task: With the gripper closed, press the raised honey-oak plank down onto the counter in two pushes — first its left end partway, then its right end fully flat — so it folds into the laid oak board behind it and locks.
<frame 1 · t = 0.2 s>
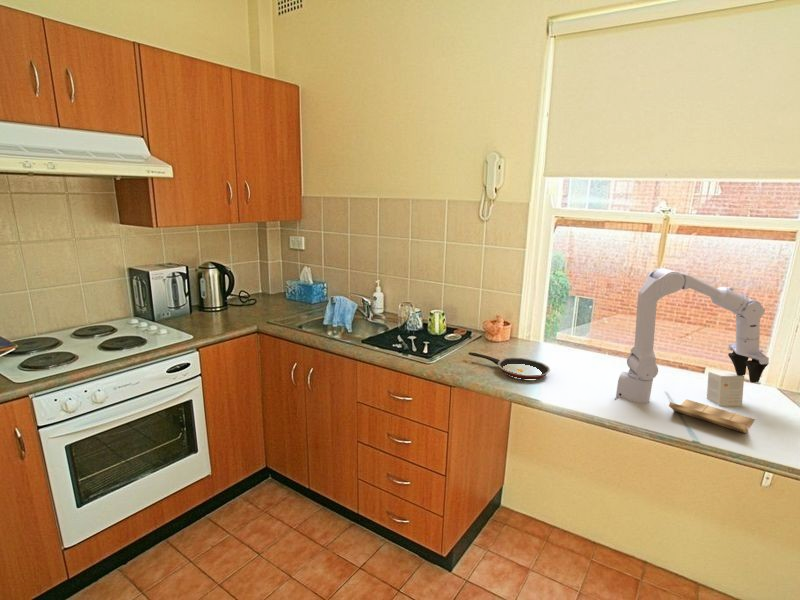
hand: (747, 378, 139), 11 cm above the worktop, tool pointing down, fingers open, 5 cm apart
laid board: (714, 417, 136), on the worktop
frying pan: (506, 370, 171), on the worktop
plank: (707, 417, 129), point 3 cm above the worktop, hinge at 28.0°
small box: (723, 405, 145), on the worktop, touching gripper
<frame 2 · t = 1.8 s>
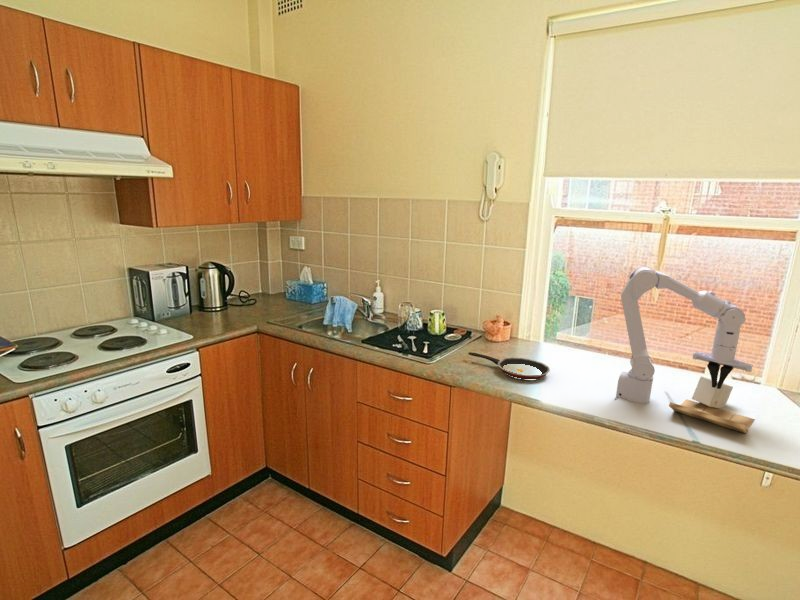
hand: (716, 387, 135), 9 cm above the worktop, tool pointing down, fingers closed, pressing on small box
small box: (719, 394, 144), point 4 cm above the worktop, touching gripper
everything else where it was.
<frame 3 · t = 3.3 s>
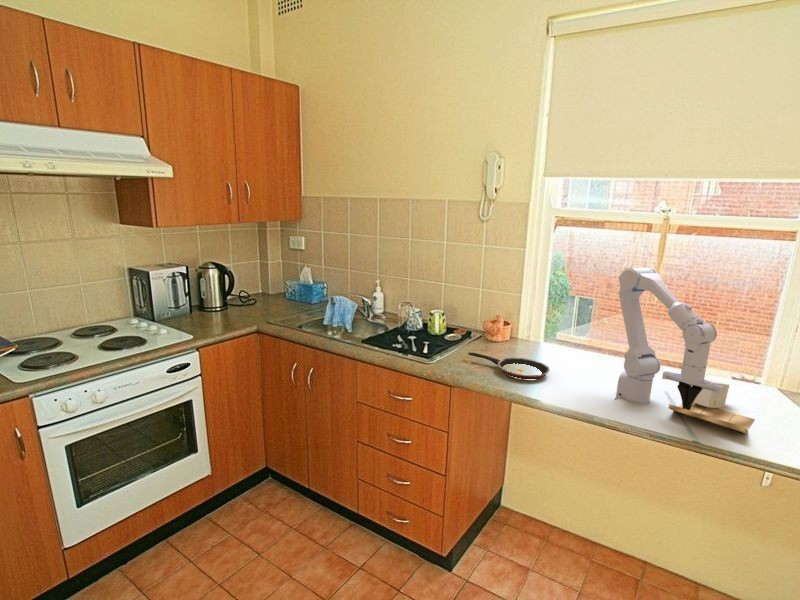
hand: (686, 408, 130), 5 cm above the worktop, tool pointing down, fingers closed, pressing on plank
plank: (707, 419, 129), point 3 cm above the worktop, hinge at 24.3°, touching gripper
small box: (717, 394, 144), point 4 cm above the worktop, touching laid board
everything else where it was.
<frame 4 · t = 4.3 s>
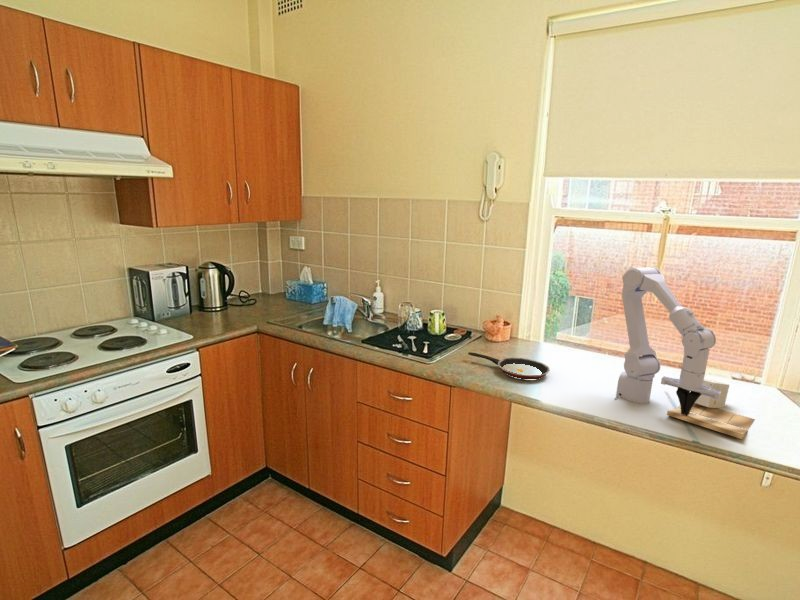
hand: (685, 413, 130), 3 cm above the worktop, tool pointing down, fingers closed
plank: (706, 422, 129), point 2 cm above the worktop, hinge at 12.6°
everything else where it was.
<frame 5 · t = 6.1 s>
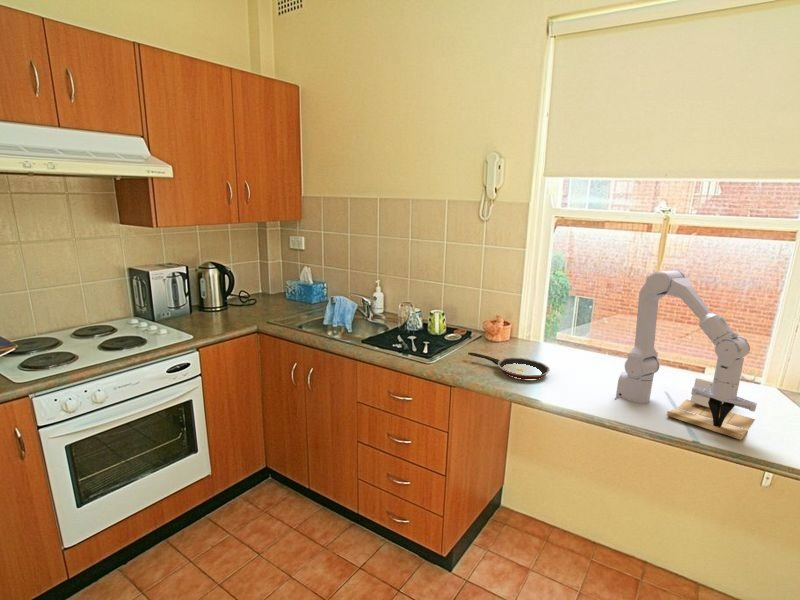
hand: (717, 425, 125), 3 cm above the worktop, tool pointing down, fingers closed, pressing on plank
plank: (706, 422, 129), point 2 cm above the worktop, hinge at 11.4°, touching gripper
everything else where it was.
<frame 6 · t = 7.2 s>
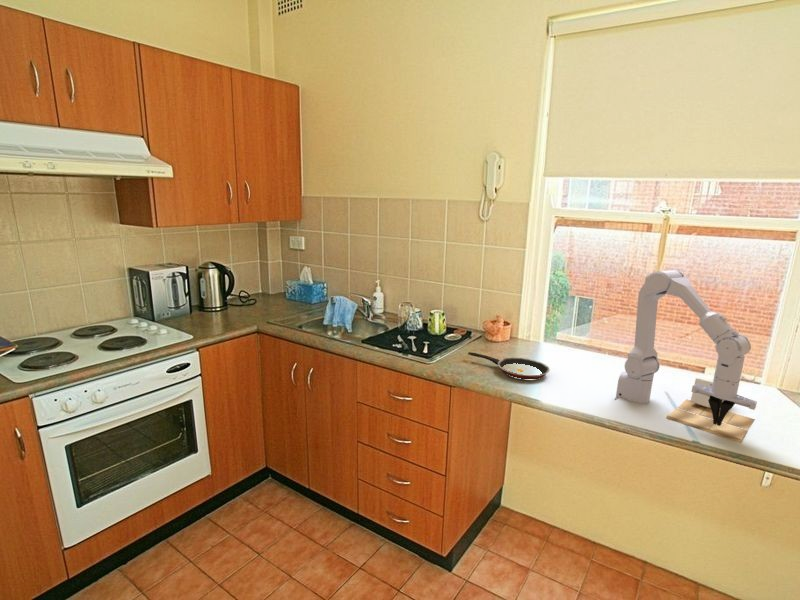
hand: (717, 423, 125), 3 cm above the worktop, tool pointing down, fingers closed
plank: (705, 425, 129), point 1 cm above the worktop, hinge at 3.4°
everything else where it was.
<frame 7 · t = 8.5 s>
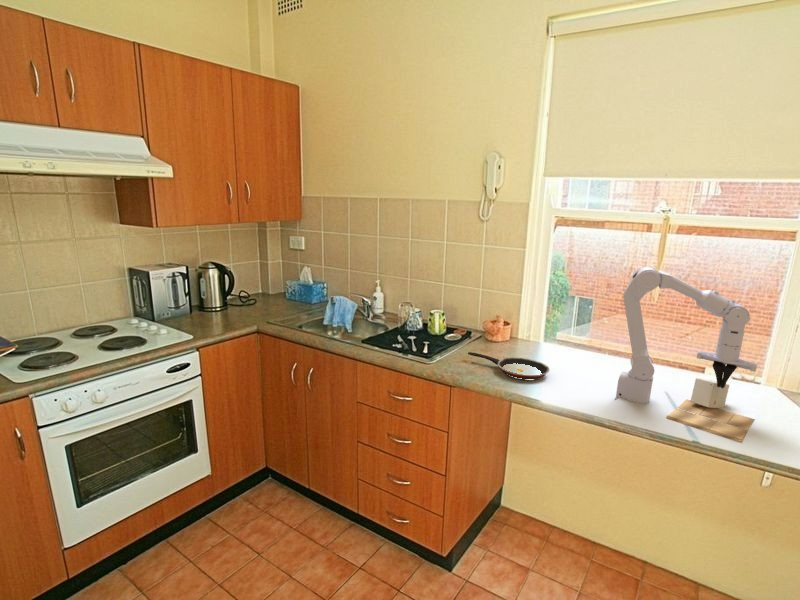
hand: (720, 386, 135), 10 cm above the worktop, tool pointing down, fingers closed
nothing on the worktop moved.
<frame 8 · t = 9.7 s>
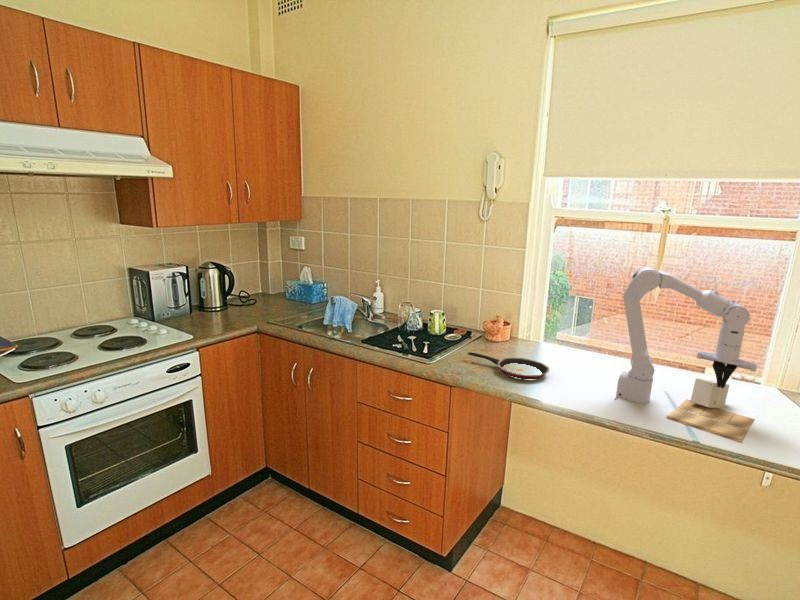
hand: (720, 386, 135), 10 cm above the worktop, tool pointing down, fingers closed
nothing on the worktop moved.
at the end: plank at +3° (first picture: +28°); plank touching nothing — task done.
